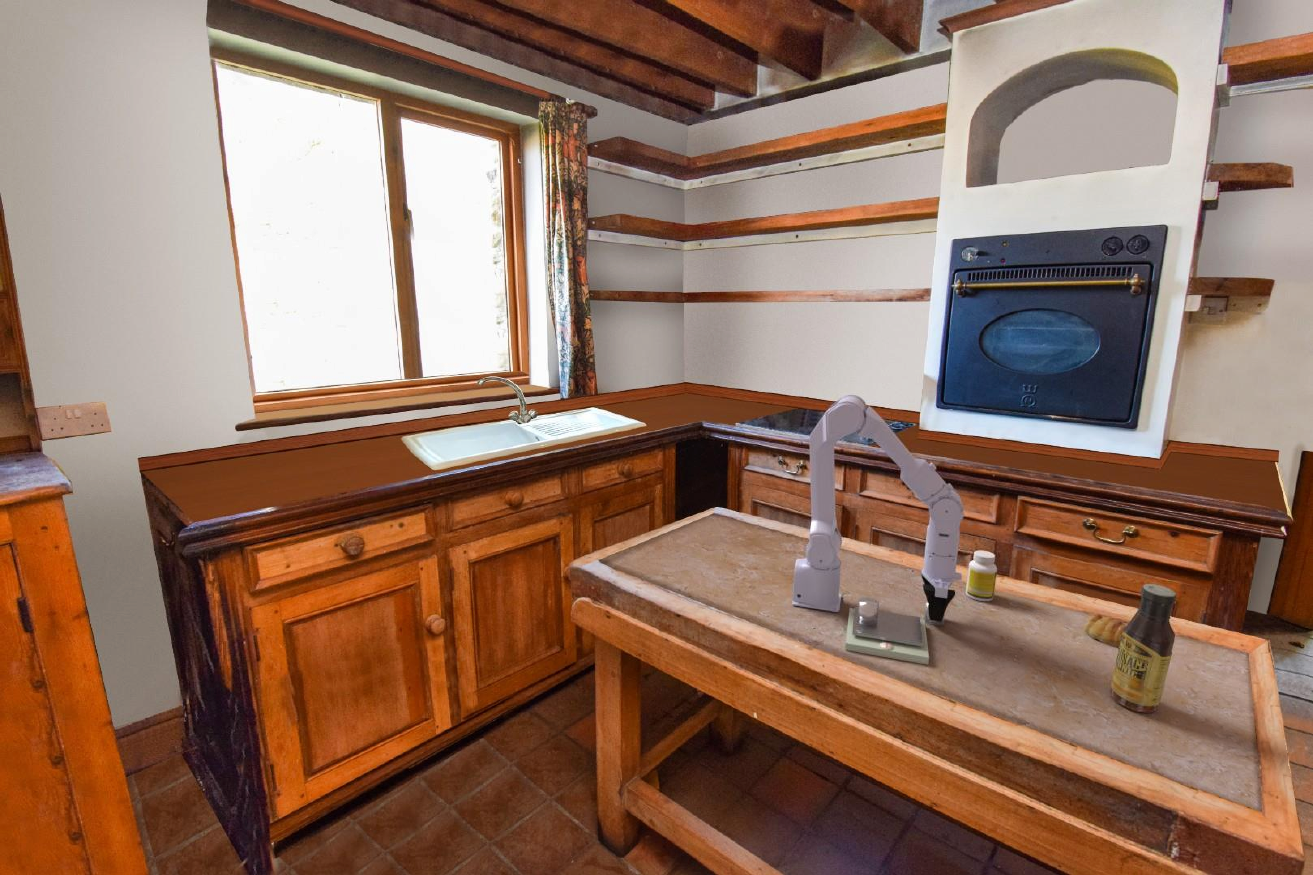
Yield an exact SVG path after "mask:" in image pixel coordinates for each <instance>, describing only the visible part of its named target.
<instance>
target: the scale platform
mask: <svg viewBox="0 0 1313 875" xmlns="http://www.w3.org/2000/svg"><path fill="white" fill-rule="evenodd" d="M854 608H855V611H854V621H853V631H852V635H858V636H863V637H869V638H875V639H881V640H887V641H893V642H899V643H904V644H910V645H916V646H922V644H923V643H922V634H921V624H920V619H921V618H920V617H921V616H915V615H910V614H909V615H908V614H903V613H895V612H890V611H884V610H878V620H877V624H876V625H874V626H867V625H863V624H861V623H859V622H858V607H857V606H855V607H854Z"/></svg>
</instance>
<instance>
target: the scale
mask: <svg viewBox="0 0 1313 875" xmlns="http://www.w3.org/2000/svg"><path fill="white" fill-rule="evenodd" d="M854 611H855V607H854V608H853V607H849V612H848V619H847V620H848V621H847V628H846V635H845V636H846V637H845V644H844V646H845V647H844V649H845V651H849V652H855V653H856V652H857V653H861V654H867V655H872V656H878V657H883V658H889V659H893V660H900V661H906V662H911V663H915V664H916V663H917V664H922V665H927V666H929V660H930V656H929V647H928V638H927V630H926V622H925V621H924V618H923V619H922V618H920V624H921V634H922V643H923V644H922V646H916V645H910V644H904V643H899V642H893V641H887V640H881V639H875V638H869V637H863V636H858V635H852V631H853V621H854Z"/></svg>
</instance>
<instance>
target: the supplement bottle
mask: <svg viewBox="0 0 1313 875" xmlns="http://www.w3.org/2000/svg"><path fill="white" fill-rule="evenodd" d="M995 559H996V555H995V553H992V552H990V551H988V550H987V551H986V550H975V551H974V553H973V560H971V561H970V562H969V564H968V569H967V577H966V587H965V594H966V596H967V597H969V598H971V599H973V600H975V601H979V602H991V601H993V600H994V596H995V589H996V588H995V587H996V582H997V574H998V568H997V565H996V564H995V562H996V561H995Z"/></svg>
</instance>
